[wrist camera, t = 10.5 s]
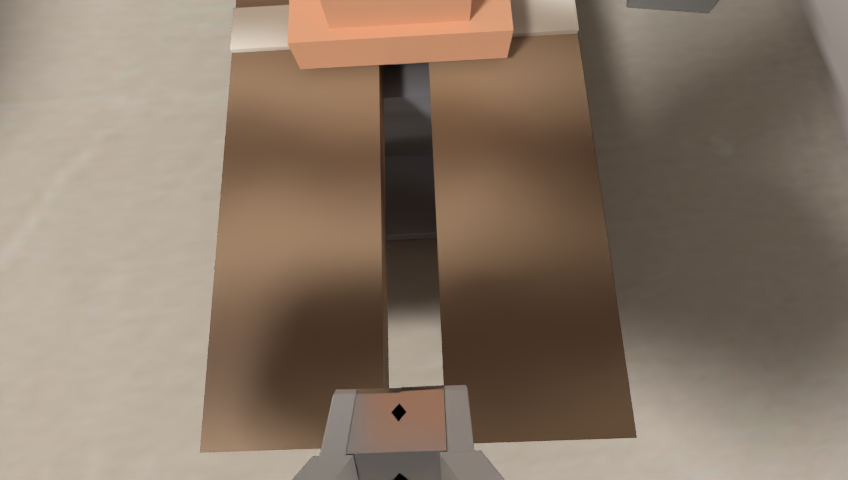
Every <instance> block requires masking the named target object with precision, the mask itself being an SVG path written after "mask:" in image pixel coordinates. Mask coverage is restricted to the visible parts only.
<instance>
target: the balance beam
mask: <svg viewBox="0 0 848 480" xmlns="http://www.w3.org/2000/svg"><path fill="white" fill-rule="evenodd" d="M510 2H511V11H512V21H513V34H512V39H511V43H510V48H509V52H508V56H507V58H496V59H478V60H460V61H442V62H424V63H416V64H398V65H393V64H388V65H370V66H352V67H334V68H316V69H300V68H299V66H298V64H297V62H296V60H295V58H294V55H293V53H292V51H291V49H290V47H289V45H288V43H287V41H288V19H289V0H236V8H233V18H232V31H231V43H230V50H231V52H232V61H231V74H230V86H229V99H228V111H227V123H226V136H225V148H224V161H223V173H222V186H221V198H220V210H219V223H218V235H217V248H216V260H215V272H214V285H213V297H212V310H211V322H210V334H209V347H208V359H207V372H206V384H205V396H204V409H203V421H202V434H201V446H200V453H201V452H230V451H260V450H289V449H318V448H321V447H322V443H323V438H324V434H325V429H326V424H327V420H328V415H329V411H330V406H331V402H332V397H333V394H334V393H335V391H336V389H382V388H389V369H388V312H387V254H386V241H387V240H409V239H430V238H437V249H438V270H439V292H440V313H441V334H442V356H443V377H444V386H449V385H466V386H467V389H468V398H469V407H470V416H471V426H472V435H473V443H494V442H523V441H552V440H581V439H611V438H637V437H636V430H635V423H634V416H633V409H632V402H631V396H630V389H629V382H628V375H627V368H626V361H625V354H624V348H623V341H622V334H621V327H620V320H619V313H618V306H617V300H616V293H615V286H614V279H613V272H612V265H611V258H610V252H609V245H608V238H607V231H606V224H605V217H604V210H603V204H602V197H601V190H600V183H599V176H598V169H597V162H596V156H595V149H594V142H593V135H592V128H591V121H590V114H589V108H588V101H587V94H586V87H585V80H584V73H583V66H582V60H581V53H580V46H579V39H578V31H579V25H578V18H577V11H576V5H575V0H510Z"/></svg>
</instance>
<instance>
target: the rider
mask: <svg viewBox="0 0 848 480" xmlns="http://www.w3.org/2000/svg"><path fill="white" fill-rule="evenodd" d="M512 34H513V21H512V11H511V2H510V0H289V19H288V41H287V43H288V45H289V47H290V49H291V51H292V53H293V55H294V58H295V60H296V62H297V64H298V66H299V68H300V69H316V68H334V67H352V66H370V65H388V64H393V65H398V64H416V63H424V62H442V61H460V60H478V59H496V58H507V56H508V52H509V48H510V43H511V39H512Z"/></svg>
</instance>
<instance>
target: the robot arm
mask: <svg viewBox="0 0 848 480" xmlns="http://www.w3.org/2000/svg"><path fill="white" fill-rule="evenodd" d="M292 480H504V478H503V477H502V476H501V475H500V473H499V472H498V471H497V470H496V468H495V467H494V466H493V465H492V464H491V462H490V461H489V460H488V459H487V457H486V456H485V455H484V454H483V452H482V451H474V444H473V435H472V426H471V416H470V407H469V398H468V389H467V386H466V385H449V386H444V385H441V386H421V387H402V388H382V389H336V391H335V393H334V394H333V397H332V402H331V406H330V411H329V415H328V420H327V424H326V429H325V434H324V438H323V443H322V447H321V452H320V456H313V457H312V458H311V459H310V460H309V461H308V462H307V463H306V465H305V466H304V467H303V468H302V469H301V470H300V471H299V472H298V474H297V475H296V476H295V477H294V478H293V479H292Z"/></svg>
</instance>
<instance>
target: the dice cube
mask: <svg viewBox="0 0 848 480" xmlns="http://www.w3.org/2000/svg"><path fill="white" fill-rule="evenodd" d="M717 2H718V0H627V7H629V8H643V9H657V10H671V11H685V12H699V13H709V12H710V10H711V9H712V8H713V7H714V5H715V4H716V3H717Z"/></svg>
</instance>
